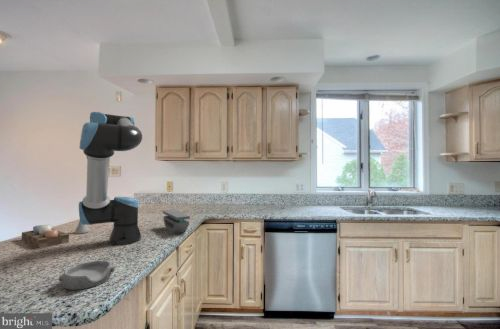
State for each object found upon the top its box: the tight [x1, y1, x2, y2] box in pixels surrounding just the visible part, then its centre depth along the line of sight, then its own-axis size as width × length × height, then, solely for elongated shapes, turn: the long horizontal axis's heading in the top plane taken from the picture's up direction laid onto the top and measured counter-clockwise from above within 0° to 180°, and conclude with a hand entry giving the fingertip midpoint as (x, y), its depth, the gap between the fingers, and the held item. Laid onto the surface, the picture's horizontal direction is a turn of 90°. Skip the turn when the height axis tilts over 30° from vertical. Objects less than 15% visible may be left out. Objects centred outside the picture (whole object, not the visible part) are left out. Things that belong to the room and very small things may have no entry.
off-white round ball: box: [38, 224, 53, 236], centre depth 128 cm, size 5×5×5 cm
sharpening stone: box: [162, 209, 191, 235], centre depth 152 cm, size 25×8×11 cm, turn 37°
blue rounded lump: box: [32, 224, 42, 233], centre depth 132 cm, size 5×5×5 cm
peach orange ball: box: [45, 229, 59, 238], centre depth 123 cm, size 5×5×5 cm
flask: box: [74, 220, 91, 234], centre depth 145 cm, size 7×7×10 cm
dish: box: [58, 259, 116, 291], centre depth 84 cm, size 14×14×5 cm
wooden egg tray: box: [21, 227, 70, 249], centre depth 127 cm, size 24×12×4 cm, turn 58°
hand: (96, 178), depth 144 cm, fingers closed
